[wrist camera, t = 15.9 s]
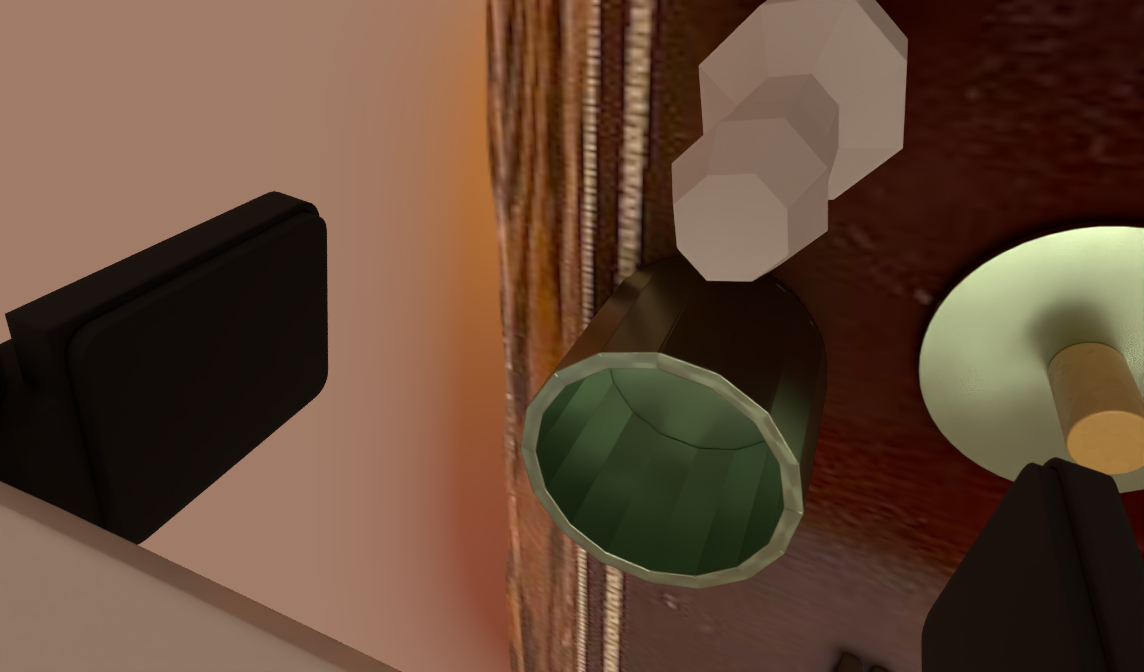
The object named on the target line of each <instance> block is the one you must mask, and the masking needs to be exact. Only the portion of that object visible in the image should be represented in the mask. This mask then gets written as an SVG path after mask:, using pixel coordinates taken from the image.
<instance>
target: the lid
mask: <svg viewBox="0 0 1144 672" xmlns="http://www.w3.org/2000/svg"><path fill="white" fill-rule="evenodd" d="M918 375H919V385H920V389H921V393H922V397H923V400H924V403H925V405H926V407H927V410H928V412H929V414H930V416H931V418H932V419H933V421H934V422H935V424H936V426H937V427H938V429H939V430H940V431H941V432H942V434H943V435H944V436H945V437H946V438H947V439H948V441H949V442H950V443H951V444H952V445H953V446H955V447H956V448H957V449H958V450H959V451H960V452H961V453H962V454H963V455H965V456H966V457H968V458H969V459H971V460H972V461H973V462H975V463H976V464H978V465H979V466H981V467H983V468H985V469H987V470H988V471H990V472H992V473H994V474H996V475H998V476H1001V477H1003V478H1006V479H1008V480H1010V481H1013V482H1014V481H1015V479H1016V478H1017V476H1018V475H1019V473H1020V472H1021V470H1022V469H1023V468H1024V467H1025V466H1026V465H1027V464H1028V463H1032V462H1033V463H1036V464H1039V465H1042V466H1043V465H1044V464H1045V462H1047V461H1048V460H1049V459H1051V458H1054V457H1058V458H1061V459H1064V460H1066V461H1069V462H1072V463H1075V464H1078V465H1081V466H1084V467H1087V468H1090V469H1093V470H1096V471H1099V472H1102V473H1105V474H1107V475H1109V476H1111V477H1113V479H1114V481H1115V482H1116V485H1117V488H1118V490H1119V493H1124V492H1130V491H1137V490H1143V489H1144V223H1135V222H1125V221H1110V222H1090V223H1081V224H1072V225H1067V226H1063V227H1058V228H1053V229H1049V230H1045V231H1042V232H1039V233H1036V234H1033V235H1030V236H1027V237H1024V238H1022V239H1019V240H1017V241H1015V242H1013V243H1010V244H1008V245H1006V246H1004V247H1002V248H1000V249H998V250H997V251H995V252H993V253H992V254H990V255H988V256H986V257H985V258H983V259H982V260H980V261H979V262H978V263H976V264H975V265H974V266H972V267H971V268H970V269H968V270H967V271H966V272H965V273H964V274H962V275H961V276H960V277H959V278H958V279H957V280H956V281H955V282H954V283H953V284H952V285H951V286H950V287H949V289H948V290H947V291H946V292H945V294H944V295H943V296H942V297H941V299H940V300H939V301H938V303H937V305H936V306H935V308H934V310H933V311H932V313H931V315H930V317H929V319H928V321H927V324H926V326H925V329H924V331H923V334H922V339H921V343H920V347H919V358H918Z"/></svg>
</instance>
